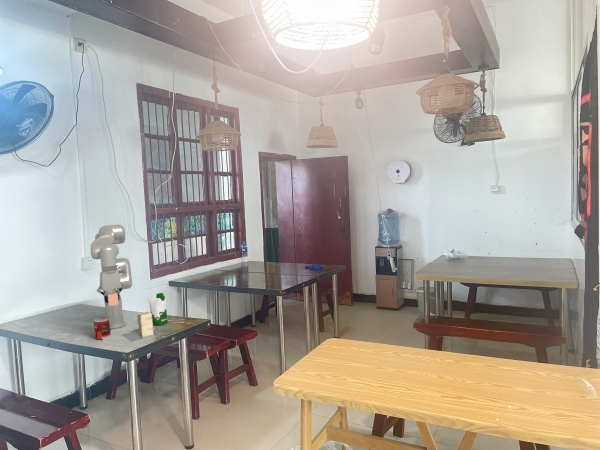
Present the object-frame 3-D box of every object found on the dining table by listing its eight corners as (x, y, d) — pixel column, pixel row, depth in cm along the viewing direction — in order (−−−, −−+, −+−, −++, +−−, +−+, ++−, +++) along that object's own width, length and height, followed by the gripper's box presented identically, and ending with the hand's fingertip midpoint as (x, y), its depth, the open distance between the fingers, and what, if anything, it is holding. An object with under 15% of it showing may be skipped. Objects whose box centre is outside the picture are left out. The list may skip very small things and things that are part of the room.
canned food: (98, 336, 248) (96, 317, 248) (112, 335, 249) (111, 316, 248) (93, 341, 241) (91, 321, 240) (108, 339, 241) (106, 320, 241)
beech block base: (139, 334, 241) (138, 324, 241) (149, 332, 245) (148, 321, 245) (142, 337, 237) (141, 326, 236) (153, 334, 240) (152, 323, 240)
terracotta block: (106, 304, 238) (105, 293, 238) (116, 302, 241) (115, 292, 241) (108, 306, 234) (107, 295, 234) (118, 304, 237) (117, 293, 237)
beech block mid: (138, 324, 241) (137, 313, 241) (148, 321, 245) (147, 311, 244) (141, 326, 236) (140, 315, 236) (152, 323, 240) (151, 313, 240)
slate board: (121, 337, 244) (121, 334, 244) (149, 330, 254) (149, 327, 254) (131, 344, 230) (131, 341, 230) (161, 336, 240) (160, 334, 240)
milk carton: (161, 329, 255) (158, 295, 254) (148, 328, 258) (145, 295, 257) (170, 324, 263) (167, 292, 262) (158, 324, 266) (155, 291, 265)
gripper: (123, 265, 244) (126, 297, 246) (90, 270, 234) (94, 303, 235) (127, 267, 238) (130, 299, 240) (94, 272, 228) (97, 306, 229)
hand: (112, 301), depth 238 cm, fingers closed on terracotta block, 5 cm apart
